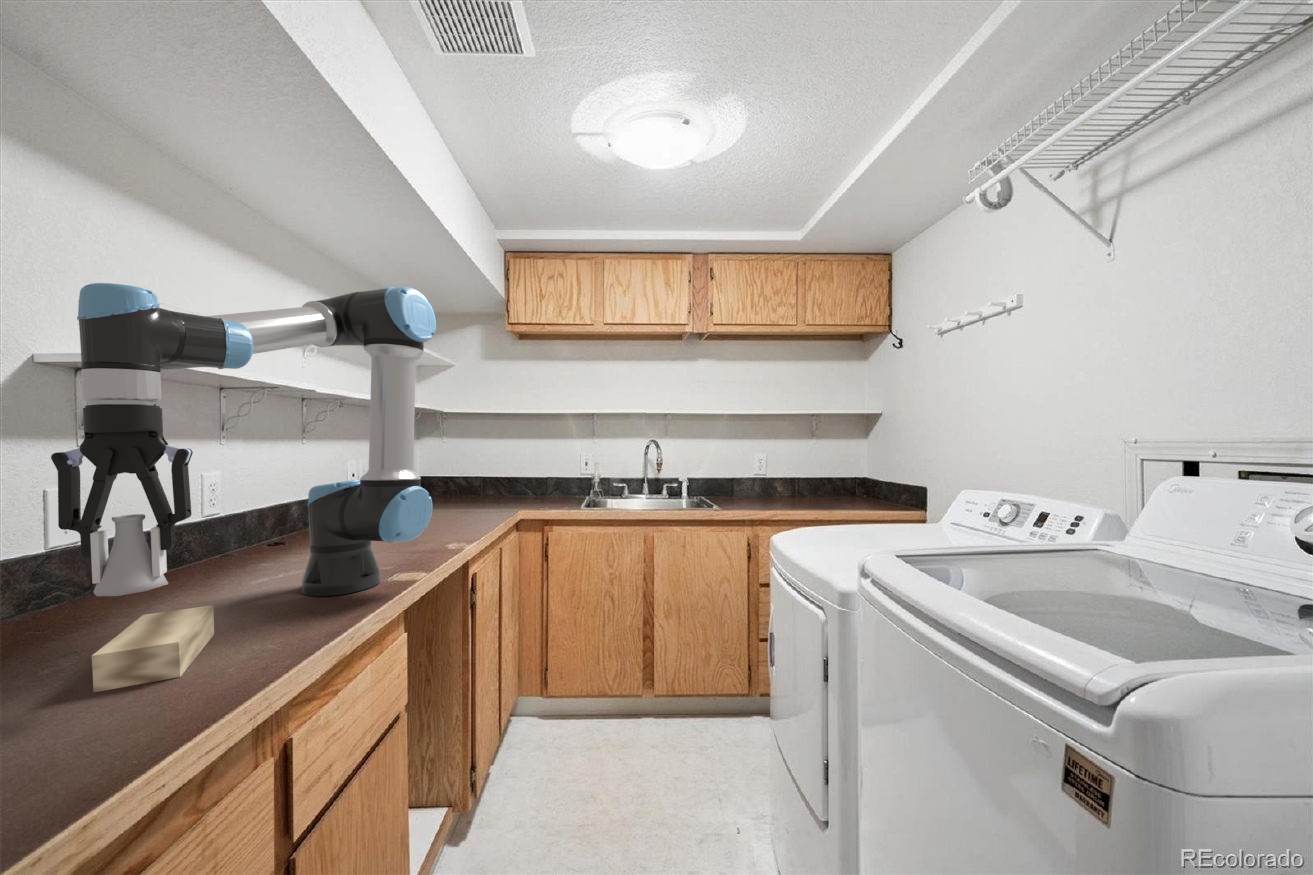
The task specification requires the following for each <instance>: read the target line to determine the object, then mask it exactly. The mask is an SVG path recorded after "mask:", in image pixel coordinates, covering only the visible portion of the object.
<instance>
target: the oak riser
mask: <svg viewBox="0 0 1313 875" xmlns="http://www.w3.org/2000/svg"><path fill="white" fill-rule="evenodd" d="M214 613H215V612H214V605H213V604H212V605H205V606H197V607H191V608H190V607H189V608H183V609H175V610H167V611H162V612H161V611H159V612H154V613H145V614H142V615H141V616H140V617H138V618H137V619H136V620H135V621H133V622H132V623H131V624H130V625H129V626H127V627H126V628H124V629H123V631H121V632H120V633H118V635H116V636H115V637H114V638H112V639H111V640H110V641H108V642H107V643H106V644H105V645H103V646H102V647H100V648H99V649H98V650H97V651H96V652H95V653H93V654H92V655H91V665H92V666H91V667H92V687H93V688H92V690H93V693H98V692H105V691H110V690H115V689H120V688H121V689H122V688H126V687H127V688H128V687H131V686H138V685H142V684H147V683H148V684H149V683H153V682H159V681H165V680H171V679H177V678H181V677H182V676H183V674H184V673H185V672H186V670H187V669H188V668H189V667H190V665H191V664H192V663H193V662H194V661H195V659H196V658H197V656H199V654H200V653H201V652H202V651H203V650H204V648H205V647H206V645H207V644H208V643H209V642H210V640H211V639H212V638H213V637H214V635H215V620H214V619H215V618H214Z"/></svg>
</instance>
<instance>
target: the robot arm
mask: <svg viewBox="0 0 1313 875" xmlns="http://www.w3.org/2000/svg"><path fill="white" fill-rule="evenodd" d="M77 305H78V306H77V307H78V308H77V309H78V312H77V317H76V319H77V321H78V327H79V328H78V329H79V343H80V360H81V363H80V364H81V398H82V400H84V401H86V402H88V404H86V405H84V407H83V408H82V418H83V419H82V420H83V434H84V437H83V438H84V439H83V441H82V443H81V444H80V445H79V448H75V449H70V450H67V451H59V452H54V453H52V454H51V456H50V459H51V461H52V463H53V465H54V467H55V468H56V471H57V504H58V505H57V507H58V508H57V511H58V512H57V516H58V519H57V520H58V524H57V525H58V528H59V529H60V530H64V531H65V530H69V531H74V532H77V533H78V534H79V535H80V536H79V537H80V539H79V540H80V554H81V556H82V557H83V558H91V560H90V561H91V578H92V584H95V585H96V584H97V583H100V581H101V578H102V574H103V571H104V567H105V564H106V562H107V559H108V557H109V536H108V534H109V533H108V529H101V528H102V525H101V523H102V521H103V520H102V519H103V515H104V514H105V510H106V507H107V503H108V501H109V497H110V494H111V491H112V488H113V484H114V482H115V480H116V479H117V477H118V475H119V474H120V475H121V474H125V473H126V474H136V478H137V479H138V480H139V481H140V483H141V487H142V488H143V492H144V493H145V496H146V499H147V500H148V503H149V505H150V508H151V511H152V513H153V515H154V518H155V520H156V523H157V524H156V525H155V526H154V527H151V528H150V546H151V547H150V548H151V549H150V551H151V553H152V574H153V577H158V576H161V575H163V574H165V573H167V572H168V568H167V567H168V565H167V564H168V563H167V551H168V550H171V549H173V548H174V547H175V545H176V540H175V539H176V535H175V534H176V533H175V525H176V524H177V523H179V522H182V521H185V520H186V519H187V520H188V519H189V518H190V517H192V501H191V499H192V498H191V489H190V488H191V486H190V472H189V471H190V470H189V465H190V464H189V463H190V462H191V459H192V456H193V452H194V451H193V450H192V449H191V448H186V447H185V448H182V447H177V446H172V445H169V443H168V442H167V440H166V439H165V437H164V427H163V426H164V425H163V424H164V423H163V422H164V421H163V408H162V407H161V406H160V405H157V404H156V403H158V402H159V403H160V402H161V400H162V377H161V372H162V370H163V371H164V370H181V369H191V368H193V369H195V368H214V369H215V368H216V369H218V370H223V369H235V370H237V369H238V370H239V369H241V368H243V367H245V366H246V365H247V364H248V363H250V361H251V359H252V357H253V355H254V354H255V355H256V354H260V353H267V352H273V351H279V350H285V349H292V348H297V347H299V348H300V347H304V346H305V347H306V346H310V345H313V346H315V347H318V348H327V347H336V346H337V347H338V346H339V347H340V346H356V347H357V346H358V347H359V346H362V347H363V350H364V351H365V352H366V354H368V355H369V356H370V358H371V367H370V368H371V372H370V404H369V440H368V442H369V445H368V446H369V448H368V470H367V472H365V473H364V474H362V476H361V477H360V479H351V480H346V481H339V482H332V483H331V482H330V483H325V484H319V485H314V486H312V487H311V488H310V489H309V490H308V500H307V513H308V515H307V516H308V517H307V519H308V533H309V534H308V535H309V537H308V538H309V558H308V561H307V564H306V568H305V571H304V574H303V577H302V579H301V593H302V594H303V595H306V596H310V597H331V596H339V595H345V594H346V595H347V594H350V593H351V594H352V593H356V592H360V591H363V590H367V589H370V588H373V587H375V586H377V585H378V584H381V581H382V570H381V568H380V566H379V564H378V561H377V559H376V556H375V554H374V551H373V549H372V542H383V543H388V544H394V543H408V542H411V541H413V540H415V539H416V538H418V537H419V536H420V535H422V533H424V532H423V531H425V529H426V528H427V527H428V525H429V523H430V520H431V518H432V514H433V499H432V496H430V492H428V490H426V489H425V488H423V487H422V485H421V484H422V482H421V480H422V479H421V478H422V477H421V476H420V475H419V474H418V473H417V472H416V471H415V470H414V460H415V459H414V458H415V455H414V453H415V452H414V451H415V448H414V447H415V412H416V410H415V409H416V408H415V407H416V369H417V368H416V367H417V366H416V365H417V364H416V362H417V360H418V359H419V358H421V356H423V355H424V347H425V346H424V345H425V344H424V343H427V342H428V341H430V340H431V339H432V338H433V336H435V333H436V330H437V319H436V315H435V311H434V309H433V307H432V305H431V303H430V302H429V300H428V299H427V297H425V295H424V294H423V293H421V291H419V290H418V289H415V288H413V287H410V286H402V287H401V286H399V287H398V286H390V287H387V288H381V289H372V290H364V291H354V292H350V293H345V294H341V295H337V296H334V297H329V298H326V299H319V300H310V301H306V302H305V303H304V304H303V305H302V306H300V307H289V308H281V309H279V308H278V309H270V310H269V309H268V310H257V311H247V312H246V311H245V312H237V313H228V314H225V313H224V314H215V315H205V316H204V315H197V314H193V313H192V314H191V313H187V312H178V311H174V310H173V311H172V310H170V309H166V308H163V307H162V308H161V307H160V303H159V299H158V296H157V294H156V293H155V292H154V291H152V290H149V289H147V288H145V289H144V288H143V287H140V286H135V285H134V286H133V285H130V284H129V285H128V284H121V283H112V282H111V283H110V282H96V283H90V284H85V285H83V287H81V289H80V290H79V296H78V304H77ZM165 454H166V455H167V460H168V462H169V463H171V470H170V472H171V481H172V483H171V484H172V495H173V510H174V513H173V510H172V508H171V505H170V502H169V500H168V498H167V495H166V493H165V490H164V487H163V485H162V482H161V480H160V477H159V472H158V469H157V467H156V464H157V463H158V462H159V460H160V459H161V458H162V457H163V456H164V455H165ZM83 458H86V459H87V460H88V461H89V462H90V463H91V464H93V466H95V470H94V473H93V476H92V485H91V488H90V490H89V491H90V492H89V493H88V497H87V500H86V502H85V505H84V508H83V509H84V510H83V511H82V510H81V508H82V507H81V469H80V466H81V465H82V463H83ZM81 511H82V512H83V513H82V516H81ZM83 558H82V559H83Z"/></svg>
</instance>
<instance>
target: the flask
mask: <svg viewBox="0 0 1313 875" xmlns="http://www.w3.org/2000/svg"><path fill="white" fill-rule="evenodd" d="M145 519H146V515H145V514H144V513H136V514H135V513H134V514H123V515H116V516H112V517H111V521H112V522H114V525H115V526H114V530H115V531H114V538H113V543H112V547H111V550H110V552H109V553H108V555H109V557H108V559H107V562H106V564H105V567H104V571H103V574H102V578H101V581H100V583H95V587H94V590H93V594H94V595H95V596H96V597H119V596H125V595H130V594H136V593H142V592H147V591H150V590H155V589H156V588H160V587H163V586H166V585H169V582H168V580H167V579H166V577H165V575H164V574H165V573H164V574H163V575H161V576H158V577H153V574H152V550H151V549H150V547H149V544H148V542H147V539H146V536H145V533H144V524H143V521H144V520H145Z"/></svg>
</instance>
